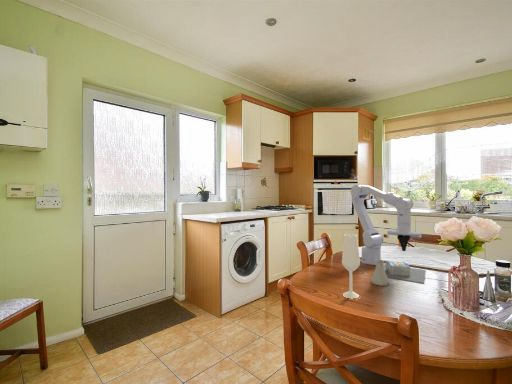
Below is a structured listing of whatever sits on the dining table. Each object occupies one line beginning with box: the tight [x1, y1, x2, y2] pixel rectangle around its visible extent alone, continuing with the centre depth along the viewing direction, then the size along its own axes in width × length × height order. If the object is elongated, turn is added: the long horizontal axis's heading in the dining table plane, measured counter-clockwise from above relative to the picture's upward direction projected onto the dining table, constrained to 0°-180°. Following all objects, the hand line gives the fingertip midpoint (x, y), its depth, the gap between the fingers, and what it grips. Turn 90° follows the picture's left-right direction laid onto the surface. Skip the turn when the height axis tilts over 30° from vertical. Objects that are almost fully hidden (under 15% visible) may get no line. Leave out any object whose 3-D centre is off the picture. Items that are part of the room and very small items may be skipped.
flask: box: [370, 259, 390, 287], centre depth 114 cm, size 7×7×10 cm
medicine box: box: [385, 260, 411, 276], centre depth 126 cm, size 8×4×9 cm
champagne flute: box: [341, 233, 361, 300], centre depth 102 cm, size 7×7×24 cm
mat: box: [383, 263, 427, 285], centre depth 126 cm, size 18×20×1 cm
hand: (403, 250), depth 128 cm, fingers closed
